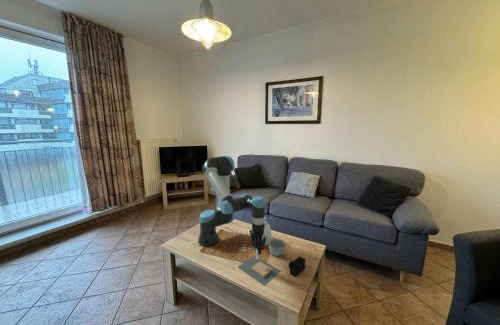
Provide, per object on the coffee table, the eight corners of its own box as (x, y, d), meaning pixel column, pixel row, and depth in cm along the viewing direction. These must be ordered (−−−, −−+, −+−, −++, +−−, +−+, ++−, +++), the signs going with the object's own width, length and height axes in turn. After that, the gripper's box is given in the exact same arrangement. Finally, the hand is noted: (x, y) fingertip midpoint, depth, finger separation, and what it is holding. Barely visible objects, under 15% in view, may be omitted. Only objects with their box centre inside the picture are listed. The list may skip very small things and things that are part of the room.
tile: (251, 267, 127) (263, 275, 120) (259, 261, 133) (272, 268, 126) (251, 270, 128) (263, 278, 121) (259, 263, 133) (272, 271, 126)
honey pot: (256, 235, 168) (257, 214, 165) (272, 236, 165) (273, 215, 162) (253, 244, 156) (254, 221, 152) (271, 246, 153) (271, 223, 150)
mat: (237, 267, 130) (237, 267, 130) (254, 256, 142) (254, 255, 141) (264, 286, 115) (264, 285, 115) (281, 271, 127) (281, 271, 127)
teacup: (283, 259, 138) (284, 248, 137) (267, 257, 140) (267, 246, 139) (284, 247, 152) (285, 237, 150) (269, 245, 154) (270, 235, 152)
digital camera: (297, 264, 133) (297, 255, 132) (304, 269, 129) (305, 259, 128) (287, 273, 126) (288, 262, 124) (295, 277, 122) (296, 267, 121)
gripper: (246, 221, 125) (246, 256, 129) (262, 228, 116) (262, 266, 120) (254, 217, 130) (254, 251, 135) (270, 223, 121) (270, 260, 126)
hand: (258, 258), depth 127 cm, fingers closed
